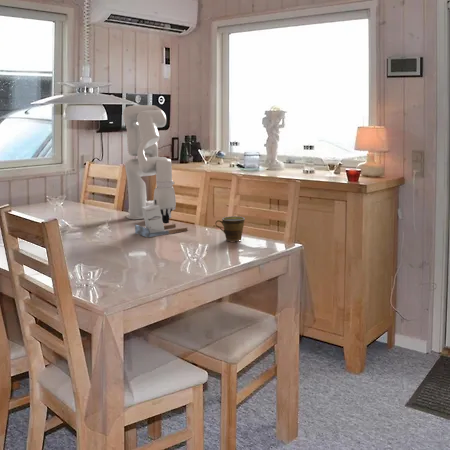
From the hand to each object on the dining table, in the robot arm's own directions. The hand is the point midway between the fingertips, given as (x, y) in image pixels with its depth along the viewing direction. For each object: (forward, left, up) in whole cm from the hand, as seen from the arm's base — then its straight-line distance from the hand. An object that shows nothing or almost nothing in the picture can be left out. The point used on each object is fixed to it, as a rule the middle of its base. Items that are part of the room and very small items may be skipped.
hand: (165, 222), depth 296 cm
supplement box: (+1, -6, -4) cm, 7 cm away
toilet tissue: (-27, +11, -4) cm, 29 cm away
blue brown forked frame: (0, -2, -4) cm, 5 cm away
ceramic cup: (+36, +12, -4) cm, 38 cm away
